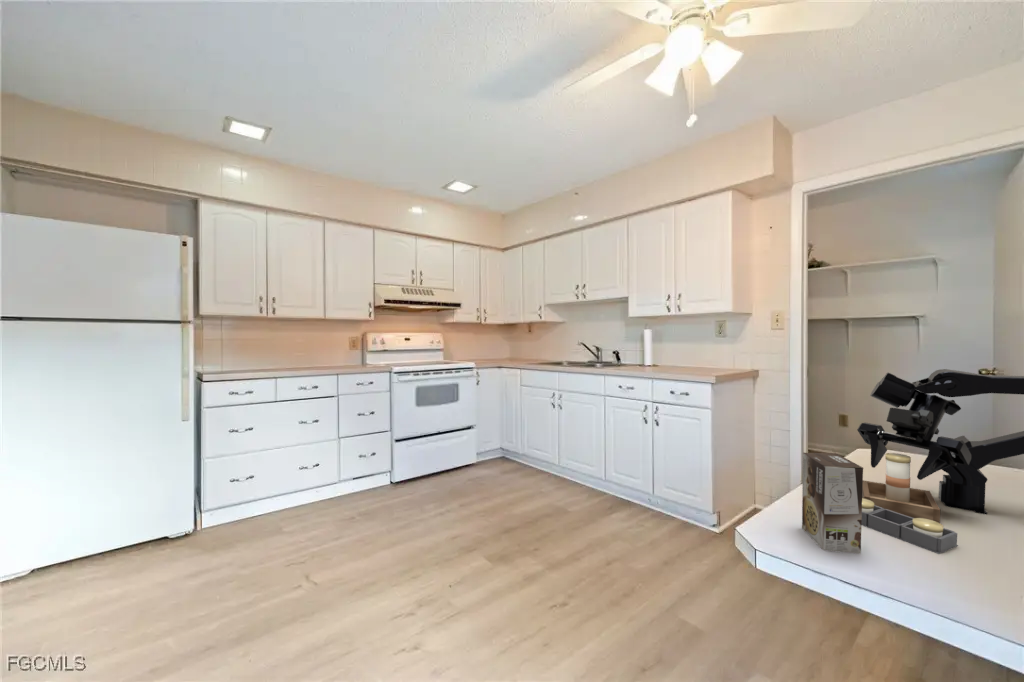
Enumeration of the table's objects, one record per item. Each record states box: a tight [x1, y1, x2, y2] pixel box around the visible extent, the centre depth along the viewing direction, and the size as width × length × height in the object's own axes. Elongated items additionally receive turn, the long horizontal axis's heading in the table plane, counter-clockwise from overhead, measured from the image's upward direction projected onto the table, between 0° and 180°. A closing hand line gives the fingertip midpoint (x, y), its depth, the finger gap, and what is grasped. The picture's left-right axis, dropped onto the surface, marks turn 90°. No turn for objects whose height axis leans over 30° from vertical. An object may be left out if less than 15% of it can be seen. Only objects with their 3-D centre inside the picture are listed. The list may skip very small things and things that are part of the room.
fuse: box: [912, 518, 945, 538], centre depth 82 cm, size 4×4×4 cm
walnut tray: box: [862, 479, 941, 524], centre depth 97 cm, size 12×12×4 cm
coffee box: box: [801, 452, 864, 554], centre depth 83 cm, size 9×6×16 cm
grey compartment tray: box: [861, 505, 959, 555], centre depth 87 cm, size 17×7×3 cm, turn 24°
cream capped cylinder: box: [885, 452, 912, 503], centre depth 97 cm, size 4×4×11 cm
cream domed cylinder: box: [862, 498, 874, 513], centre depth 92 cm, size 4×4×4 cm
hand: (894, 472), depth 96 cm, fingers open, 8 cm apart
